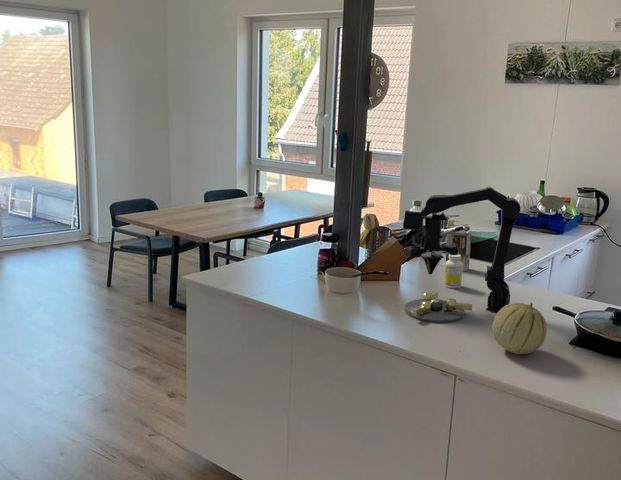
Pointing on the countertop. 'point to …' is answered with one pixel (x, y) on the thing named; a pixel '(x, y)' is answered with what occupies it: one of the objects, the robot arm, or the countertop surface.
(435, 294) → the knob
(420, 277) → the countertop surface
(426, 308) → the knob
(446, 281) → the supplement bottle
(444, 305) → the tribrach plate
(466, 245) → the coffee box
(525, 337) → the cantaloupe
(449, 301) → the knob
